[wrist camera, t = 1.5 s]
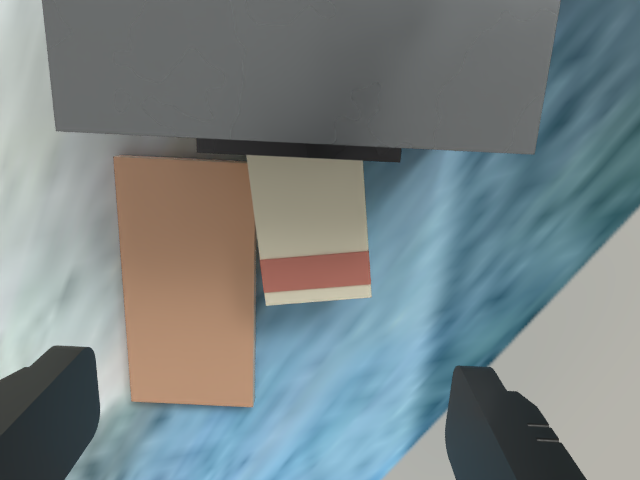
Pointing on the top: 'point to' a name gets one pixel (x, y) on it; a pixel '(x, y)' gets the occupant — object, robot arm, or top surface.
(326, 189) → the cream box
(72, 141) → the top surface
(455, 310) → the top surface
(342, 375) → the top surface
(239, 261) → the tile
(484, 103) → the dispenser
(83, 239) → the top surface
